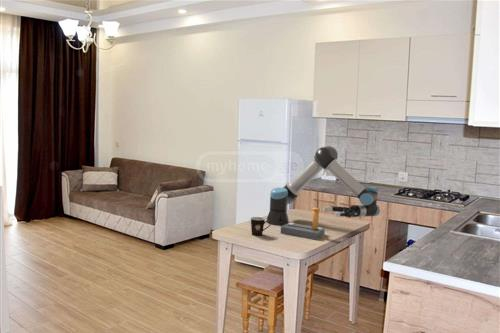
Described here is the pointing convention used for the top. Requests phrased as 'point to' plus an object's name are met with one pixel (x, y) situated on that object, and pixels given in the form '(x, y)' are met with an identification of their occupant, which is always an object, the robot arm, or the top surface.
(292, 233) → the switch box
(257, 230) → the coffee mug
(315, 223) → the switch lever
